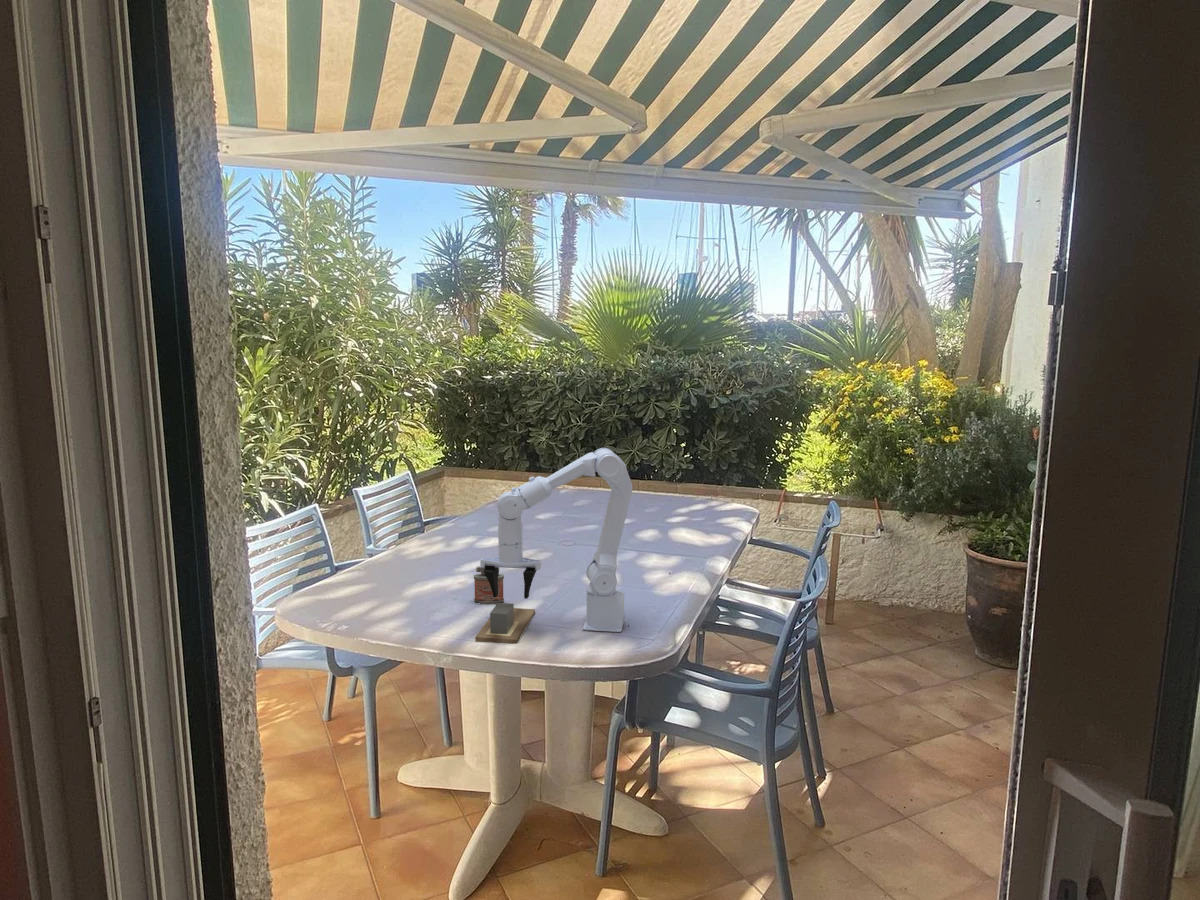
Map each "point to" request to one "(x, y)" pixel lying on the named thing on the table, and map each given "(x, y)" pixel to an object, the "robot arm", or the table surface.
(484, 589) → the lighter
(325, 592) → the table surface
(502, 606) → the block
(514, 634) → the pin board
